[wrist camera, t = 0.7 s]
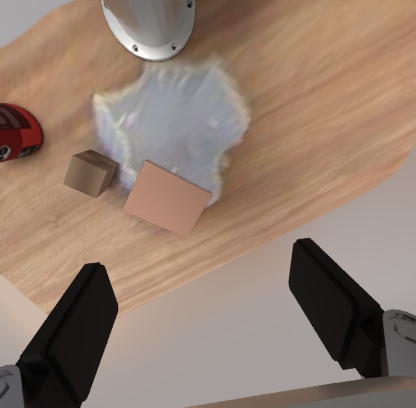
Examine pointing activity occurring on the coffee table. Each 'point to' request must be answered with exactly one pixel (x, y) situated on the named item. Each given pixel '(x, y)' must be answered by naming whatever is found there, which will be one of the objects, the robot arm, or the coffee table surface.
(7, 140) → the canned food
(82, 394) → the robot arm
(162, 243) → the coffee table surface
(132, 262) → the coffee table surface
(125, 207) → the terracotta tile
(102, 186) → the walnut block
